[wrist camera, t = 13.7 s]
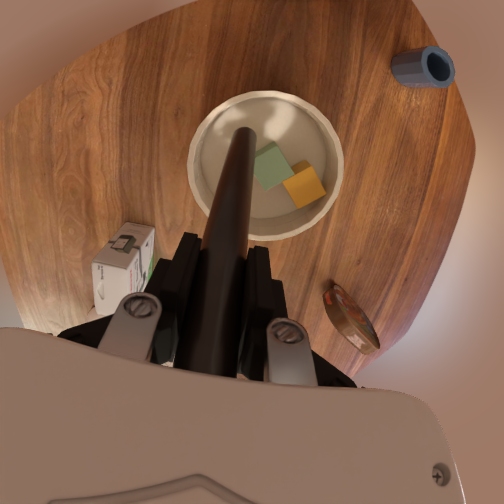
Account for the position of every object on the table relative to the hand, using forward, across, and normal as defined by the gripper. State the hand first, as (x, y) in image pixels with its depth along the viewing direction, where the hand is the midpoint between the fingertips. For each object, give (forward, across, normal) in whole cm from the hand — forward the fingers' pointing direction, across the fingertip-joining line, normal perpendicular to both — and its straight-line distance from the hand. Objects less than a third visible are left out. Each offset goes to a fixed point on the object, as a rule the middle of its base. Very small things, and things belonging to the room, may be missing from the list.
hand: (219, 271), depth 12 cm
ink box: (+27, +12, +16) cm, 34 cm away
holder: (+27, -19, -19) cm, 38 cm away
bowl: (+27, -3, 0) cm, 27 cm away
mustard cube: (+27, -8, +1) cm, 28 cm away
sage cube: (+27, -4, 0) cm, 27 cm away
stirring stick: (+14, 0, -4) cm, 15 cm away
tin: (+27, -23, +20) cm, 41 cm away
